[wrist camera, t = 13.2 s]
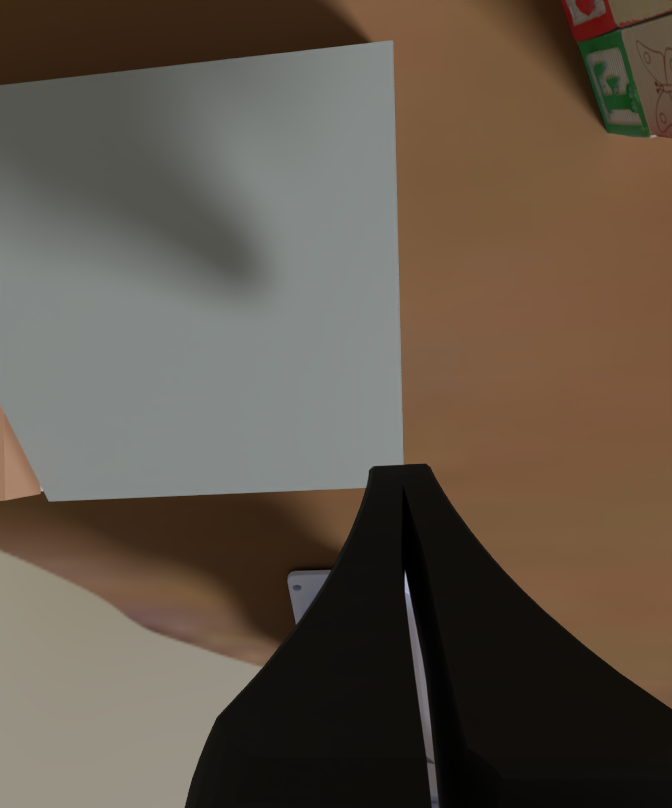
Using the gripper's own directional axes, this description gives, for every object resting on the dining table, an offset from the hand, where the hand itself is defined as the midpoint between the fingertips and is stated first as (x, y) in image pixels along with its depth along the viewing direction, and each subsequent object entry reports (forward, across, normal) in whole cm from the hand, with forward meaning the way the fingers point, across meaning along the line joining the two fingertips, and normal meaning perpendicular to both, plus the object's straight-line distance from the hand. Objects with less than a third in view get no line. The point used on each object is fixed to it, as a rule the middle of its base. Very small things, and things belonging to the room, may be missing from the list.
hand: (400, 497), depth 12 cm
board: (+10, +7, -2) cm, 13 cm away
